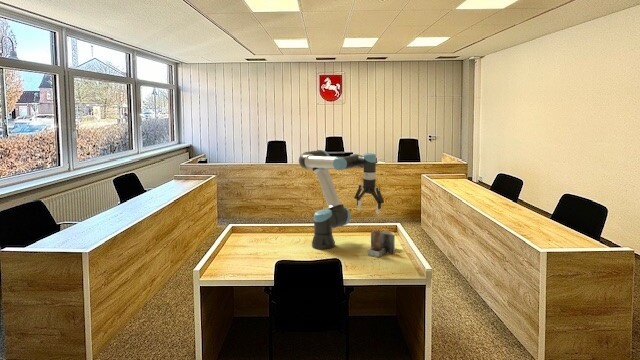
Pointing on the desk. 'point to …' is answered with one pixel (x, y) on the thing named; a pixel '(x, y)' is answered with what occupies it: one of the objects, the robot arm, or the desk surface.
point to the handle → (376, 240)
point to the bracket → (383, 245)
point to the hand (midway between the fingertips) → (368, 212)
